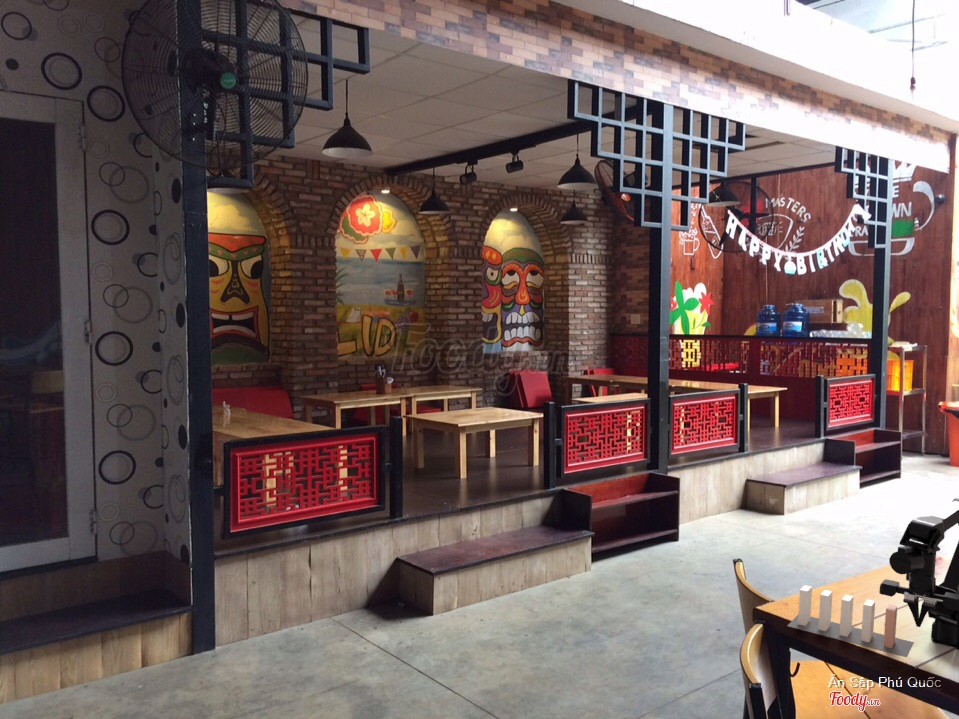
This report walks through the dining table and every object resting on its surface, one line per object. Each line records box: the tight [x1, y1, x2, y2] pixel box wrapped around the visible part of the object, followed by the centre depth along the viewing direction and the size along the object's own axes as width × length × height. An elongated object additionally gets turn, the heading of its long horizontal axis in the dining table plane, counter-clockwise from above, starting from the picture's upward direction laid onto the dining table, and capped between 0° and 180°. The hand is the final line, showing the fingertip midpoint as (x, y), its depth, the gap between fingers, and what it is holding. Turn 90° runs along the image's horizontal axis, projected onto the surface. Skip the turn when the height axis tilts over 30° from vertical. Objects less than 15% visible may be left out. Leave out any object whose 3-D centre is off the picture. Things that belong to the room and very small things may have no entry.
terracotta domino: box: [883, 603, 898, 648], centre depth 210 cm, size 2×5×10 cm, turn 143°
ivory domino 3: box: [839, 594, 855, 637], centre depth 216 cm, size 2×5×10 cm, turn 143°
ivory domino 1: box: [797, 584, 813, 626], centre depth 223 cm, size 2×5×10 cm, turn 143°
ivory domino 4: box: [861, 599, 876, 642], centre depth 213 cm, size 2×5×10 cm, turn 143°
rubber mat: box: [787, 613, 915, 658], centre depth 216 cm, size 30×12×1 cm, turn 53°
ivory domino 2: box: [818, 589, 833, 631], centre depth 220 cm, size 2×5×10 cm, turn 143°
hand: (918, 626), depth 206 cm, fingers closed
